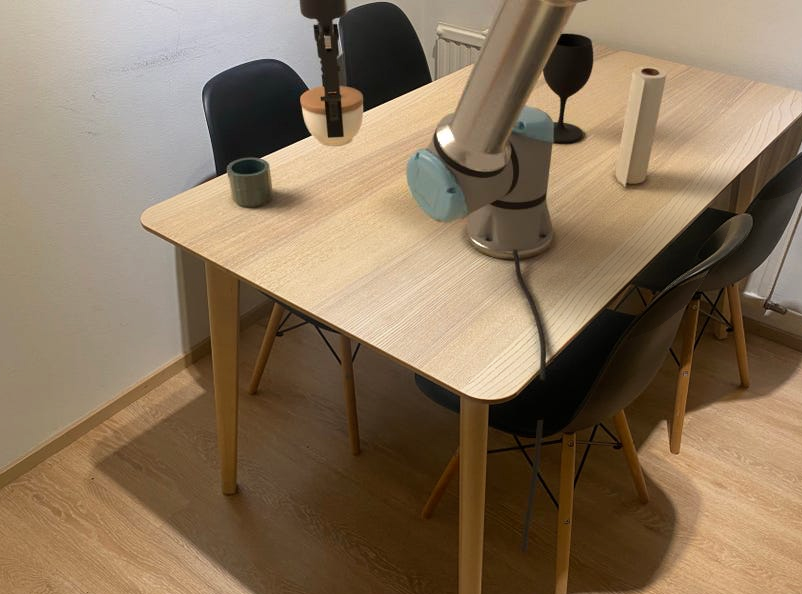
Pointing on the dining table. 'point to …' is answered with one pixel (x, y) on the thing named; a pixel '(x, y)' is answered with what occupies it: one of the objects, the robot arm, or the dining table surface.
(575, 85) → the wine glass
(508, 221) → the robot arm
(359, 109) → the trinket box
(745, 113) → the dining table surface
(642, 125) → the paper towel roll
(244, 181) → the grey-green hollow cylinder
